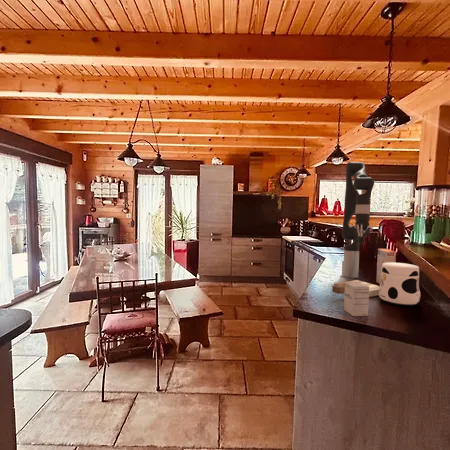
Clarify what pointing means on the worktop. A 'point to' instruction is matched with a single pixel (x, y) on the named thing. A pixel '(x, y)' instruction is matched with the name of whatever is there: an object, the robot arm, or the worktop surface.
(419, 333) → the worktop surface
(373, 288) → the seat panel
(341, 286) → the walnut leg
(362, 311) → the supplement box
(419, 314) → the worktop surface
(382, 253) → the cracker box
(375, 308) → the worktop surface
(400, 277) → the milk container
